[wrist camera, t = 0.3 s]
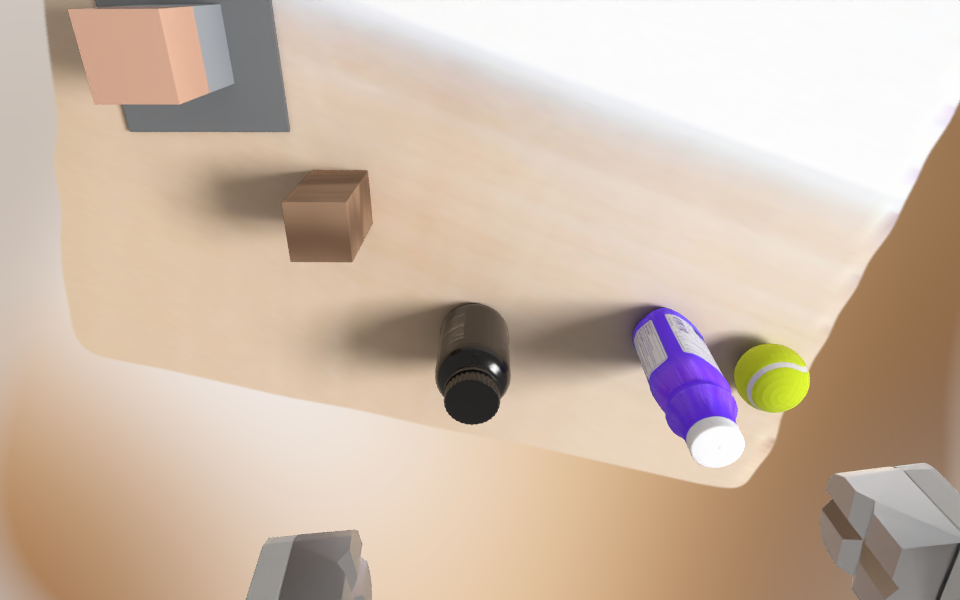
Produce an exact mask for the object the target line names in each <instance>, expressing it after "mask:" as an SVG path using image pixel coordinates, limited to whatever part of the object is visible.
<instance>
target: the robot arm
mask: <svg viewBox="0 0 960 600" xmlns="http://www.w3.org/2000/svg"><path fill="white" fill-rule="evenodd" d="M826 491H827V492H828V493H829V495H830V496H831V498H832V500H831V501H830V502H829V503H828V504H827V505H825V507H823V508H822V511H821V517H820V522H819V525H820V530H821V536H822V540H823V542H824V545H825V547H826V550H827V552H828V554H829V555H830V557H831V558H832V560H833V561H834V563H835V564H836V566H838V567H839V568H841V569H843V570H844V571H846V572H847V573H849V574H851V575H852V576H853V583H852V590H853V592H854V593H855V595H856V596H857V598H858V599H859V600H960V493H959V492H958V491H957V490H956V489H955V488H954V487H953V486H952V485H951V484H950V483H949V482H948V481H947V480H946V479H945V478H944V477H943V476H942V475H941V474H940V473H939V472H938V471H937V470H936V469H934V468H933V467H932V466H930V465H928V464H926V463H918V464H909V465H901V466H894V467H882V468H874V469H867V470H859V471H851V472H843V473H836V474H833V476H832V477H831V478H830V479H829V481H828V485H827V489H826ZM361 548H362V542H361V539H360V536H359V532H358V531H357V530H346V531H335V532H323V533H312V534H301V535H294V536H284V537H274V538H268V540H267V541H266V542H265V544H264V545H263V547H262V550H261V553H260V556H259V559H258V563H257V565H256V569H255V572H254V575H253V578H252V582H251V585H250V588H249V591H248V594H247V598H246V600H372V584H371V577H370V571H369V567H368V563H367V561H366V560H364V559H363V558H361V557H360V556H361Z"/></svg>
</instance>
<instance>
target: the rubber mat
mask: <svg viewBox="0 0 960 600" xmlns="http://www.w3.org/2000/svg"><path fill="white" fill-rule="evenodd" d="M95 1H96V5H97V7H112V6H129V5H145V4H220V5H221V11H222V16H223V22H224V27H225V33H226V39H227V44H228V50H229V56H230V61H231V67H232V72H233V78H234V84H232V85H229V86H227V87H224V88H221V89H219V90H216V91H214V92H211V93H208V94H206V95H203V96H200V97H198V98H195V99H193V100H190V101H187V102H185V103H182V104H180V105H177V104H123V108H124V112H125V116H126V120H127V123H128V127H129V131H130V132H289V131H290V126H289V119H288V112H287V105H286V98H285V91H284V84H283V77H282V70H281V64H280V57H279V50H278V43H277V36H276V29H275V22H274V15H273V8H272V1H271V0H95Z"/></svg>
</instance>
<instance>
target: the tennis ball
mask: <svg viewBox="0 0 960 600" xmlns="http://www.w3.org/2000/svg"><path fill="white" fill-rule="evenodd" d="M734 382H735V385H736V388H737V391H738V393H739V394H740V396H741V397H742V398H743V399H744V400H745V401H746V402H747V403H748V404H749V405H751V406H752V407H754V408H756V409H758V410H761V411H766V412H773V413H776V412H783V411H786V410H789V409H791V408H793V407H795V406H796V405H798V404H799V403H800V402H801V401H802V399H803V398H804V397H805V395H806V394H807V391H808V389H809V384H810V379H809V371H808V369H807V367H806V364H805V362H804V360H803V359H802V358H801V357H800V356H799V355H798V354H797V353H796V352H795V351H793V350H792V349H790V348H788V347H785V346H783V345H778V344H762V345H758V346H755V347H753V348H751V349H749V350H748V351H746V352H745V353H744V354H743V355H742V356H741V358H740V359H739V361H738V362H737V365H736V367H735V371H734Z"/></svg>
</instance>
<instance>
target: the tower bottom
mask: <svg viewBox="0 0 960 600" xmlns="http://www.w3.org/2000/svg"><path fill="white" fill-rule="evenodd" d="M138 6H193V11H194V17H195V22H196V27H197V32H198V37H199V42H200V47H201V52H202V57H203V62H204V67H205V72H206V77H207V82H208V87H209V93H211V92H214V91H216V90H219V89H221V88H224V87H227V86H229V85H232V84H234V78H233V72H232V67H231V61H230V56H229V50H228V44H227V39H226V33H225V27H224V22H223V16H222V11H221V5H220V4H145V5H129V6H112V7H138Z"/></svg>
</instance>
